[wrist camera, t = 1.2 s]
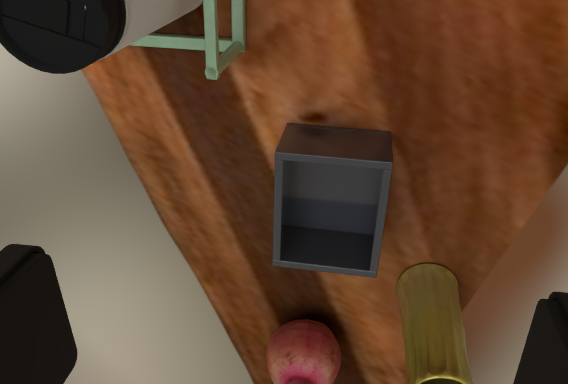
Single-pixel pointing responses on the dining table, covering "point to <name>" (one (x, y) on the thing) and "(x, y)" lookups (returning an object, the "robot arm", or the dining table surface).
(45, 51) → the travel mug
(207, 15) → the rack
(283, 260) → the dark grey storage box
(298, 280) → the dining table surface
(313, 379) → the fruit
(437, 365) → the vase
